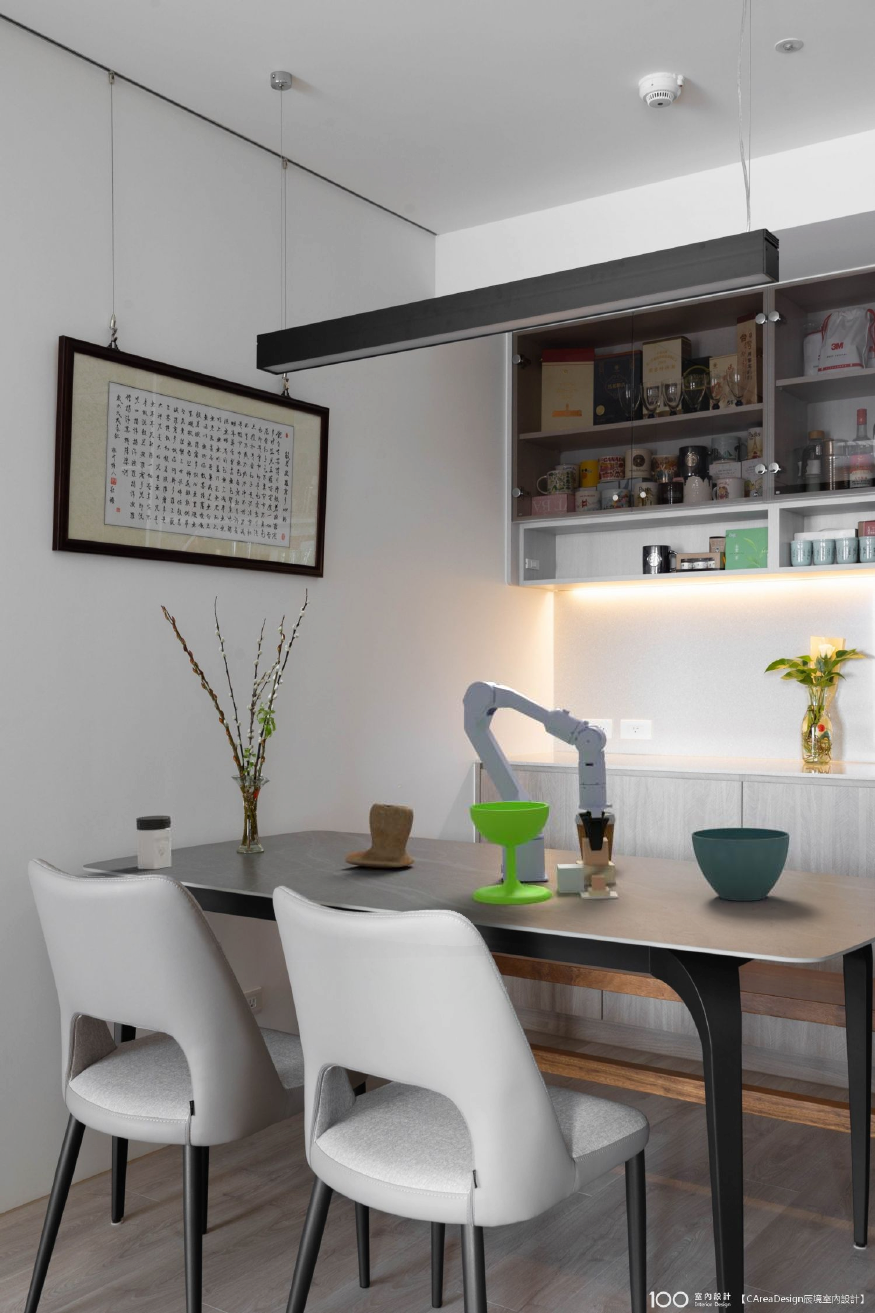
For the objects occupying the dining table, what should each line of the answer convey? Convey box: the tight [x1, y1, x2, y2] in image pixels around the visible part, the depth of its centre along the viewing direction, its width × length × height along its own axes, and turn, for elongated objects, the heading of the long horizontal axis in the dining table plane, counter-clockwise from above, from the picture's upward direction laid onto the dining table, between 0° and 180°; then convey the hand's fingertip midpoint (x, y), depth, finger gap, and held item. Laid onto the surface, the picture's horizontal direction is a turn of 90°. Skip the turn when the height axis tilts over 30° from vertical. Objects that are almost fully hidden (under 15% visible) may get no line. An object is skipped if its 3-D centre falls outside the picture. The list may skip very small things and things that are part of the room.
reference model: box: [579, 875, 619, 900], centre depth 225 cm, size 7×5×4 cm
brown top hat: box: [344, 802, 415, 869], centre depth 269 cm, size 15×12×15 cm
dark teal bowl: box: [691, 827, 790, 902], centre depth 220 cm, size 18×18×12 cm
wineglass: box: [469, 801, 553, 905], centre depth 228 cm, size 16×16×18 cm
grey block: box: [556, 863, 585, 894], centre depth 232 cm, size 5×5×5 cm
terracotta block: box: [582, 837, 609, 865], centre depth 242 cm, size 5×5×5 cm
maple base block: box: [575, 860, 617, 885], centre depth 242 cm, size 7×7×4 cm
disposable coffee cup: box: [573, 810, 617, 862], centre depth 260 cm, size 10×10×12 cm
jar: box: [135, 815, 172, 870], centre depth 279 cm, size 9×8×12 cm
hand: (594, 848), depth 242 cm, fingers open, 7 cm apart
